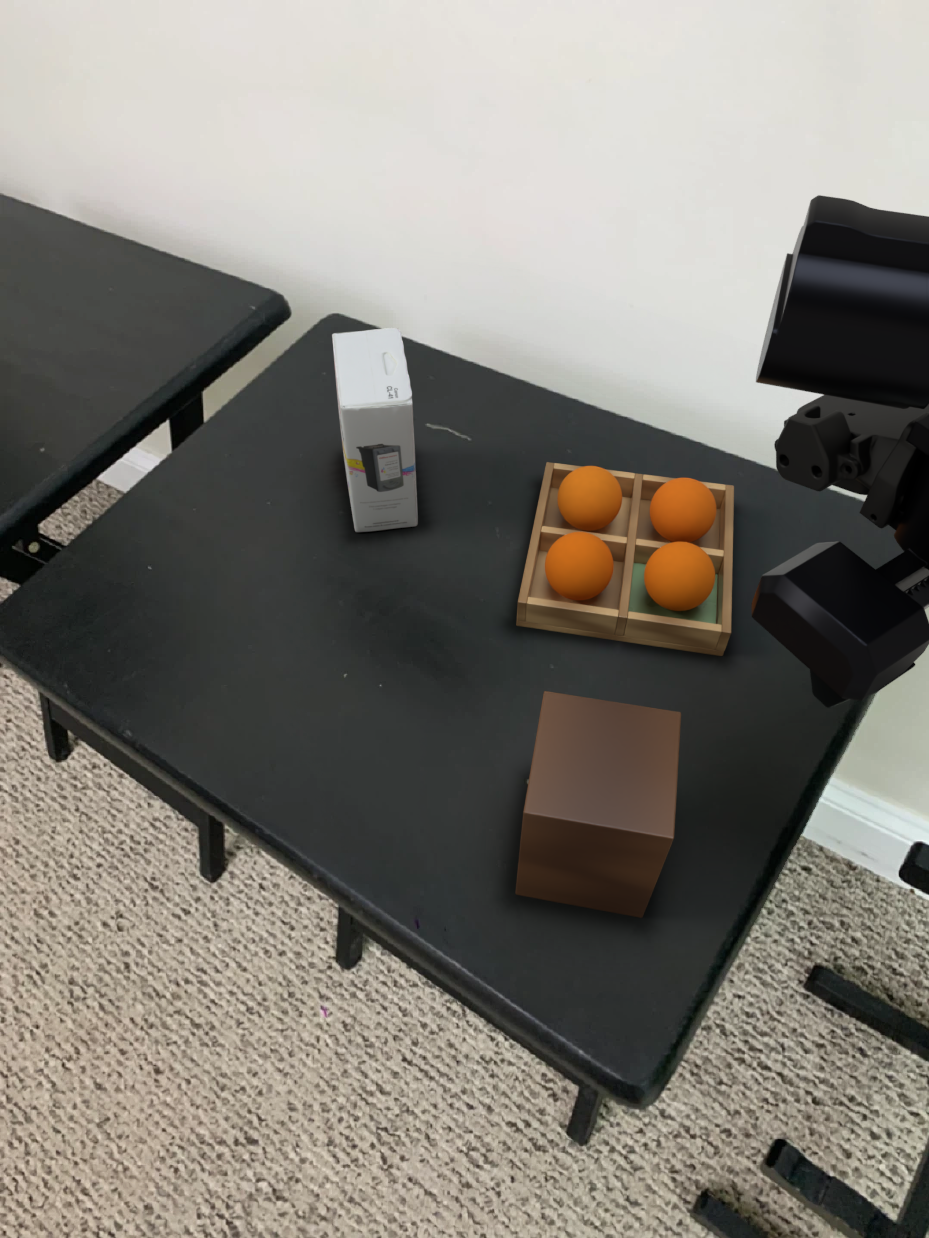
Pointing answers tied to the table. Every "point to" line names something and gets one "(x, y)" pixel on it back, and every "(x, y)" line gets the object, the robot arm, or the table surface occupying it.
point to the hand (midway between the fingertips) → (885, 657)
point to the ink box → (376, 428)
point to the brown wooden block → (599, 803)
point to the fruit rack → (629, 572)
